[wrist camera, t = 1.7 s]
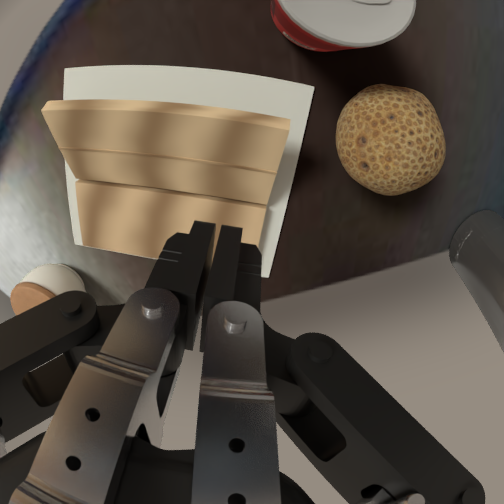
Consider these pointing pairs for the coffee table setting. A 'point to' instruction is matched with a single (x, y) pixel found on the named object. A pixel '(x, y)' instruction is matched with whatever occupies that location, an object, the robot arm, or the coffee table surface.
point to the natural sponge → (390, 139)
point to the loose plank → (170, 145)
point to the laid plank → (155, 216)
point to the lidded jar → (44, 286)
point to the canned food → (341, 22)
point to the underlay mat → (208, 94)
